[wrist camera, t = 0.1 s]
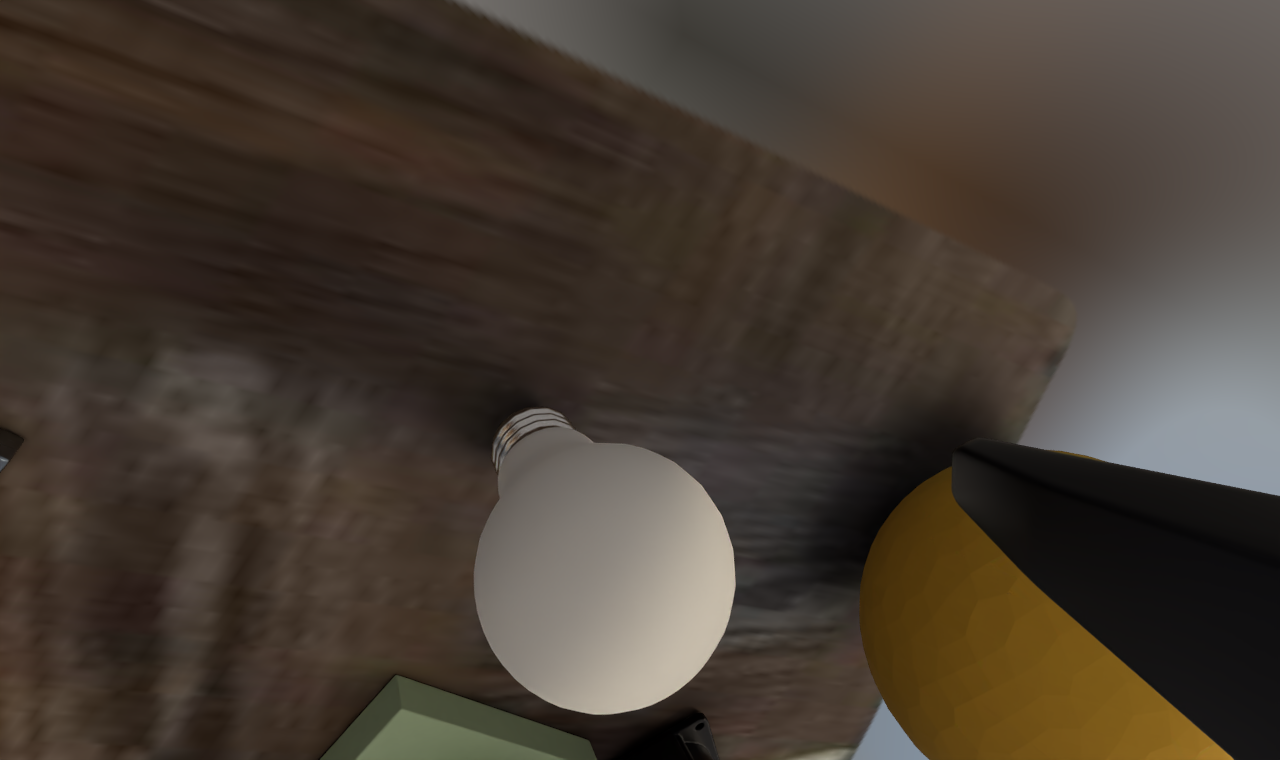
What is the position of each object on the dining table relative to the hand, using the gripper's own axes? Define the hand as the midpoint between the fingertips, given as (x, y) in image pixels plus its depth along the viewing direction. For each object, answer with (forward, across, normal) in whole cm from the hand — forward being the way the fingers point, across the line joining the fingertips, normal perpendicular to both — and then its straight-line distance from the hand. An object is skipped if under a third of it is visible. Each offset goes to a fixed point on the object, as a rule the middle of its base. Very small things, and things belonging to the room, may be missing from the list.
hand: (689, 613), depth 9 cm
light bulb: (+15, 0, +6) cm, 16 cm away
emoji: (+9, -16, +13) cm, 22 cm away
